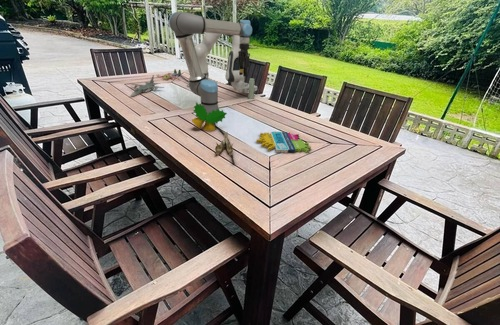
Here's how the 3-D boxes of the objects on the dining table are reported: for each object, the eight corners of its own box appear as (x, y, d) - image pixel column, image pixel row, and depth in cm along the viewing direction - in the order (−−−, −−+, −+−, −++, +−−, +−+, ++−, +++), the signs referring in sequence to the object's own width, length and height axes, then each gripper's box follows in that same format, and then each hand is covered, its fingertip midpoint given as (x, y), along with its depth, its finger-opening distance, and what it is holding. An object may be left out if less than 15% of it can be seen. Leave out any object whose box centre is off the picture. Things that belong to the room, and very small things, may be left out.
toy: (189, 70, 290) (176, 74, 264) (189, 77, 293) (177, 81, 267) (166, 67, 295) (151, 71, 269) (167, 74, 298) (152, 78, 272)
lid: (238, 71, 205) (238, 69, 204) (243, 71, 208) (244, 68, 207) (242, 73, 201) (242, 70, 200) (248, 72, 205) (248, 69, 204)
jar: (254, 98, 233) (255, 79, 224) (251, 99, 229) (252, 79, 221) (250, 97, 235) (251, 78, 227) (247, 98, 232) (248, 78, 224)
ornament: (218, 133, 171) (224, 110, 169) (221, 134, 163) (227, 111, 161) (186, 125, 162) (192, 101, 160) (189, 126, 155) (195, 101, 153)
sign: (313, 150, 142) (258, 149, 139) (312, 153, 143) (258, 152, 140) (301, 132, 164) (254, 130, 161) (301, 134, 165) (254, 133, 162)
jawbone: (234, 135, 144) (233, 125, 135) (233, 160, 138) (232, 151, 129) (217, 135, 144) (216, 125, 135) (216, 160, 138) (214, 150, 129)
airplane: (124, 86, 238) (122, 75, 233) (160, 84, 251) (158, 74, 246) (129, 99, 209) (126, 86, 204) (168, 96, 223) (167, 84, 217)
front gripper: (255, 44, 190) (253, 77, 201) (242, 42, 203) (241, 73, 215) (246, 44, 186) (244, 78, 198) (234, 42, 200) (233, 73, 211)
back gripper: (233, 84, 231) (242, 88, 221) (252, 83, 242) (261, 86, 232) (233, 91, 234) (241, 95, 224) (252, 89, 245) (260, 93, 235)
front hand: (243, 75), depth 206 cm, fingers closed on lid, 5 cm apart
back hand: (251, 91), depth 228 cm, fingers closed on jar, 5 cm apart
